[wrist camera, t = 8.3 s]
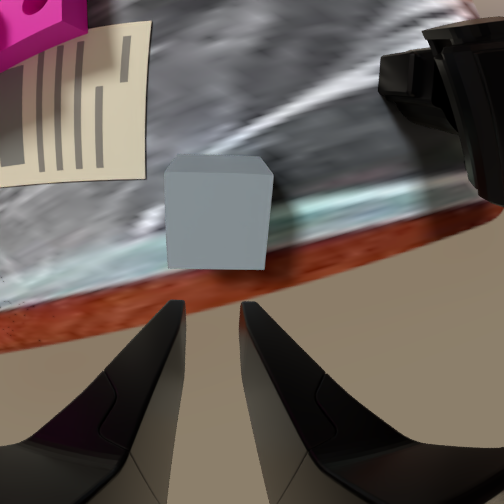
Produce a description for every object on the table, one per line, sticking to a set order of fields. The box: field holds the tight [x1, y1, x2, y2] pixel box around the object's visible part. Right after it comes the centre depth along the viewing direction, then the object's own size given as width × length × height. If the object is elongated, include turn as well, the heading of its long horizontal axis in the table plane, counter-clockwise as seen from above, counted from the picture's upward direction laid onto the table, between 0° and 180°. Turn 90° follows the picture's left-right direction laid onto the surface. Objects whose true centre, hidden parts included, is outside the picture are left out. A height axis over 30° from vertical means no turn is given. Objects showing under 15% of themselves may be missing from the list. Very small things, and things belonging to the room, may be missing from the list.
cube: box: [164, 154, 274, 270], centre depth 17 cm, size 5×5×5 cm
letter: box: [0, 21, 152, 187], centre depth 15 cm, size 12×10×1 cm
